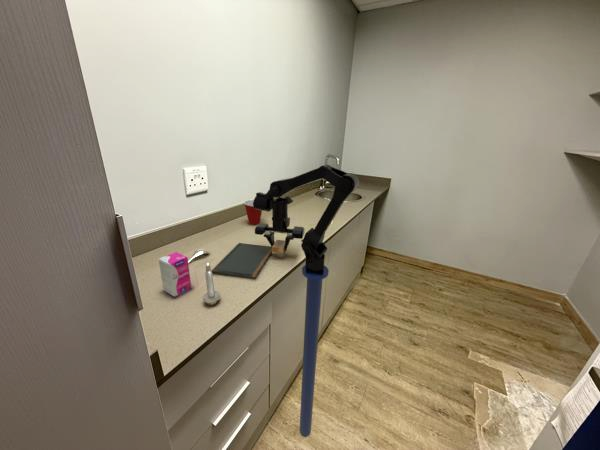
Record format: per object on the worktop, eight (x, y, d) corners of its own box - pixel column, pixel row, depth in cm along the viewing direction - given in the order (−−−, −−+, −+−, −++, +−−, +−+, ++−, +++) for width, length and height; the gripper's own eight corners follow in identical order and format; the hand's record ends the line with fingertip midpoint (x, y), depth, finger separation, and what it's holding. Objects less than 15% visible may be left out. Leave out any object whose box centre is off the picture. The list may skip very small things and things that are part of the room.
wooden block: (287, 249, 100) (287, 240, 99) (283, 257, 94) (283, 248, 92) (276, 248, 101) (276, 239, 100) (271, 256, 94) (271, 246, 93)
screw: (213, 309, 67) (199, 305, 69) (224, 299, 71) (211, 295, 73) (208, 268, 63) (193, 265, 64) (220, 260, 67) (206, 257, 68)
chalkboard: (274, 248, 104) (274, 246, 104) (255, 279, 82) (255, 276, 81) (239, 245, 106) (239, 242, 106) (211, 273, 84) (211, 271, 84)
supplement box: (175, 298, 71) (169, 264, 67) (163, 291, 74) (157, 258, 70) (192, 288, 76) (187, 256, 72) (180, 282, 79) (175, 251, 75)
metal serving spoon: (166, 268, 79) (156, 264, 81) (167, 278, 80) (157, 274, 82) (211, 248, 97) (202, 245, 98) (211, 256, 98) (202, 253, 99)
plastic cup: (263, 227, 128) (262, 205, 124) (242, 226, 128) (241, 204, 124) (266, 220, 138) (265, 200, 134) (247, 219, 138) (246, 199, 134)
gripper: (307, 209, 98) (305, 244, 103) (263, 205, 100) (263, 240, 106) (302, 218, 87) (301, 256, 93) (253, 213, 90) (254, 251, 96)
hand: (279, 250), depth 97 cm, fingers closed on wooden block, 4 cm apart
